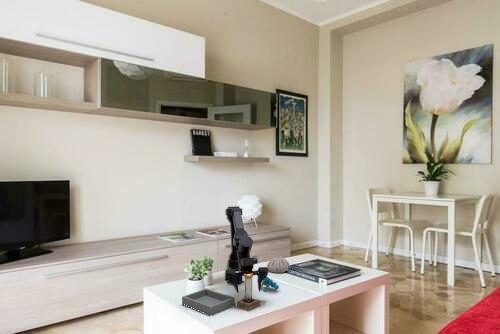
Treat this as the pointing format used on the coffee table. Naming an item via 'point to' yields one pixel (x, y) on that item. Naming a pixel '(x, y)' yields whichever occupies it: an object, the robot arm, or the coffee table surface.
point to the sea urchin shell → (278, 265)
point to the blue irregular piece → (269, 283)
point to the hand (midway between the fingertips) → (249, 292)
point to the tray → (208, 301)
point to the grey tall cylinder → (248, 287)
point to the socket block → (248, 304)
